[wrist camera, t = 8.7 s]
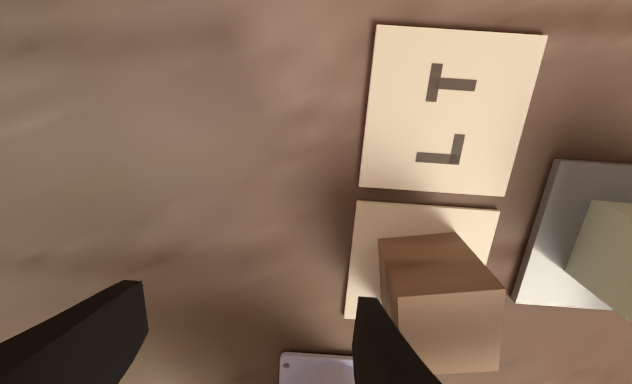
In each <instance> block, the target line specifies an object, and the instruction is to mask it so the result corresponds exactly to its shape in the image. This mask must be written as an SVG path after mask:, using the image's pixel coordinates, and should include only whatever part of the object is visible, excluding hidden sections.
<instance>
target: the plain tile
mask: <svg viewBox="0 0 632 384" xmlns="http://www.w3.org/2000/svg"><path fill="white" fill-rule="evenodd" d="M499 215H500V211H499V210H494V209H479V208H464V207H450V206H435V205H420V204H405V203H391V202H376V201H361V200H357V202H356V211H355V220H354V229H353V238H352V247H351V256H350V265H349V274H348V283H347V292H346V301H345V310H344V318H345V319H355V318H356V310H357V302H358V296H362V297H376V298H377V299H378V300H379V301H380V302H381V289H380V271H379V253H378V239H381V238H393V237H404V236H415V235H427V234H438V233H450V232H456V233H457V234H458V235H459V236H460V237H461V239H462V240H463V241H464V242H465V243H466V244H467V245H468V246H469V248H470V249H471V250H472V251H473V252H474V253H475V254H476V256H477V257H478V258H479V259H480V260H481V261H482V262H483V264H484V265H485V266H486V262H487V259H488V255H489V251H490V248H491V244H492V240H493V237H494V233H495V229H496V226H497V222H498V218H499ZM381 304H382V303H381Z"/></svg>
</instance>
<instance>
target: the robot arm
mask: <svg viewBox="0 0 632 384" xmlns="http://www.w3.org/2000/svg"><path fill="white" fill-rule="evenodd" d="M148 331H149V329H148V322H147V314H146V307H145V300H144V292H143V285H142V281H130V280H123V281H121V282H119V283H116V284H114V285H112V286H110V287H108V288H106V289H105V290H103V291H101V292H99V293H97V294H95V295H93V296H91V297H89V298H88V299H86V300H84V301H82V302H80V303H78V304H76V305H75V306H73V307H71V308H69V309H67V310H65V311H63V312H61V313H60V314H58V315H56V316H54V317H52V318H50V319H48V320H46V321H44V322H42V323H40V324H38V325H36V326H34V327H32V328H30V329H28V330H26V331H24V332H22V333H20V334H18V335H16V336H14V337H12V338H10V339H8V340H6V341H4V342H2V343H0V384H118V383H119V382H120V380H121V379H122V377H123V376H124V374H125V373H126V371H127V370H128V368H129V367H130V365H131V364H132V362H133V360H134V359H135V357H136V355H137V353H138V351H139V349H140V347H141V346H142V344H143V341H144V339H145V337H146V335H147V333H148ZM352 353H353V356H339V355H325V354H311V353H296V352H284V353H282V354H281V357H280V374H279V384H442V383H441V382H440V381H439V380H438V379H437V378H436V376H435V375H434V374H433V373H432V372H431V371H430V369H429V368H428V367H427V366H426V365H425V363H424V362H423V361H422V360H421V359H420V357H419V356H418V355H417V353H416V352H415V351H414V350H413V348H412V347H411V346H410V344H409V343H408V342H407V340H406V339H405V338H404V336H403V335H402V334H401V332H400V331H399V329H398V328H397V327H396V325H395V324H394V322H393V321H392V319H391V318H390V316H389V315H388V313H387V312H386V310H385V309H384V307H383V306H382V304H381V302H380V301H379V300H378V299H377V298H376V297H362V296H358V302H357V310H356V318H355V326H354V334H353V342H352ZM285 363H288V364H285Z"/></svg>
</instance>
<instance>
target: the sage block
mask: <svg viewBox="0 0 632 384" xmlns="http://www.w3.org/2000/svg"><path fill="white" fill-rule="evenodd" d="M565 272H566V273H567V274H569V275H570V276H571V277H572V278H574V279H575V280H576V281H578V282H579V283H580V284H581V285H583V286H584V287H585V288H587V289H588V290H589V291H590V292H592V293H593V294H594V295H595V296H597V297H598V298H599V299H601V300H602V301H603V302H604V303H606V304H607V305H608V306H609V307H611V308H612V309H613V310H615V311H616V312H617V313H618V314H620V315H621V316H622V317H623V318H625V319H626V320H627V321H629V322H630V323H631V324H632V203H622V202H610V201H598V200H592V201H591V204H590V206H589V209H588V211H587V214H586V217H585V219H584V222H583V224H582V227H581V230H580V232H579V235H578V237H577V240H576V243H575V245H574V248H573V250H572V253H571V255H570V258H569V261H568V263H567V266H566V268H565Z"/></svg>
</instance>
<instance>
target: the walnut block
mask: <svg viewBox="0 0 632 384" xmlns="http://www.w3.org/2000/svg"><path fill="white" fill-rule="evenodd" d="M378 253H379V271H380V289H381V303H382V306H383V307H384V309H385V310H386V312H387V313H388V315H389V316H390V318H391V319H392V321H393V322H394V324H395V325H396V327H397V328H398V329H399V331H400V332H401V334H402V335H403V336H404V338H405V339H406V340H407V342H408V343H409V344H410V346H411V347H412V348H413V350H414V351H415V352H416V353H417V355H418V356H419V357H420V359H421V360H422V361H423V362H424V363H425V365H426V366H427V367H428V368H429V369H430V371H431V372H432V373H433V374H434V375H439V374H455V373H471V372H487V371H498V369H499V358H500V347H501V337H502V326H503V316H504V305H505V294H506V289H505V287H504V286H503V285H502V284H501V283H500V282H499V281H498V279H497V278H496V277H495V276H494V275H493V274H492V273H491V271H490V270H489V269H488V268H487V267H486V266H485V265H484V264H483V262H482V261H481V260H480V259H479V258H478V257H477V256H476V254H475V253H474V252H473V251H472V250H471V249H470V248H469V246H468V245H467V244H466V243H465V242H464V241H463V240H462V239H461V237H460V236H459V235H458V234H457V233H456V232H450V233H438V234H427V235H415V236H404V237H393V238H381V239H378Z"/></svg>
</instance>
